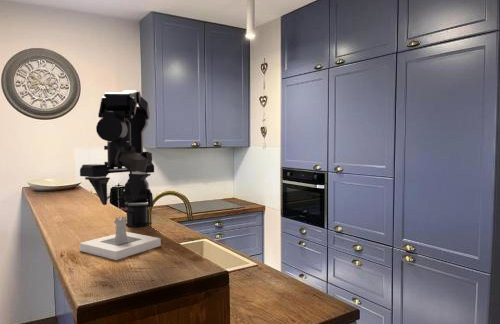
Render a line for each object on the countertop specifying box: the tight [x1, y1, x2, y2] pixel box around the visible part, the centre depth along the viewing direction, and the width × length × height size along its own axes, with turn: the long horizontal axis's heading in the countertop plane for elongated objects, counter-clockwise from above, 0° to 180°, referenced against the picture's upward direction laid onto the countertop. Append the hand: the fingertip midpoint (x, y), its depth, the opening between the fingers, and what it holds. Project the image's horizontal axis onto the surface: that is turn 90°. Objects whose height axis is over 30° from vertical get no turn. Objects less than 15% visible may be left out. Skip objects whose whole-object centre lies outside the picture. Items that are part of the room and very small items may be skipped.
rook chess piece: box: [113, 216, 129, 244], centre depth 91 cm, size 4×4×8 cm
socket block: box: [79, 231, 162, 261], centre depth 91 cm, size 14×14×2 cm
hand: (120, 202), depth 91 cm, fingers open, 9 cm apart
